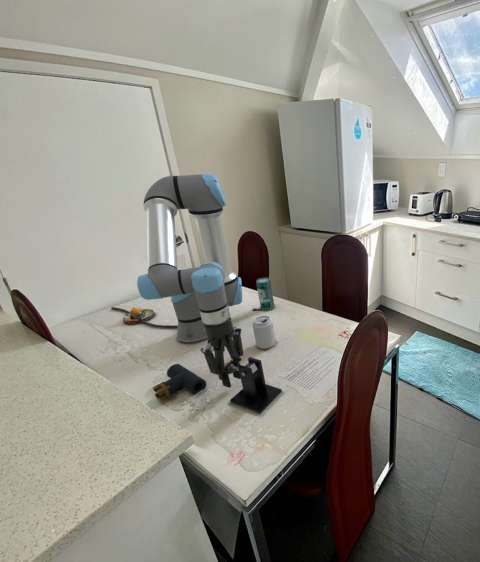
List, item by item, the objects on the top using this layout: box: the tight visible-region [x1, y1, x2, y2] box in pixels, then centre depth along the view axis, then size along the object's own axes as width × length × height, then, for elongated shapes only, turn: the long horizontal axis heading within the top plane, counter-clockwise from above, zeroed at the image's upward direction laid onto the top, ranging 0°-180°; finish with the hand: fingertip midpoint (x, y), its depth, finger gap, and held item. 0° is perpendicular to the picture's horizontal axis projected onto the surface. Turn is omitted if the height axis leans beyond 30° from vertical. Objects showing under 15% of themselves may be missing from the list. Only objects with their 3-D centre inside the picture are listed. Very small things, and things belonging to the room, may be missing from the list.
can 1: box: [255, 277, 275, 312], centre depth 152 cm, size 6×6×15 cm
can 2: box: [252, 315, 277, 350], centre depth 124 cm, size 8×8×12 cm
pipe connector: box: [152, 363, 207, 403], centre depth 102 cm, size 12×5×15 cm
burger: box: [122, 306, 155, 325], centre depth 146 cm, size 12×12×8 cm
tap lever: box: [224, 362, 257, 375], centre depth 97 cm, size 13×4×4 cm, turn 66°
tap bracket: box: [229, 356, 283, 415], centre depth 97 cm, size 12×10×14 cm
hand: (232, 381), depth 101 cm, fingers closed on tap lever, 4 cm apart
